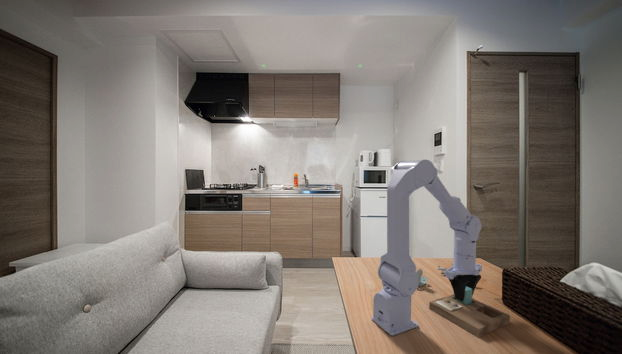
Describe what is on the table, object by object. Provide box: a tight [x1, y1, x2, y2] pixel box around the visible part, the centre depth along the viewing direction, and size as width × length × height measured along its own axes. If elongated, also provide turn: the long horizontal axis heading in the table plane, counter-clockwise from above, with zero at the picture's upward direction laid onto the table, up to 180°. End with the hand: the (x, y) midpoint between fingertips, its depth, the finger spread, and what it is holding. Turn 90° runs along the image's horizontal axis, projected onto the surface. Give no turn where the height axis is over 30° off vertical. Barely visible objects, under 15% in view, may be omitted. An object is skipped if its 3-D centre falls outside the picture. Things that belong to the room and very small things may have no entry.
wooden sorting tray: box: [428, 293, 511, 338], centre depth 70 cm, size 14×14×2 cm
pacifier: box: [416, 268, 428, 288], centre depth 90 cm, size 7×6×6 cm
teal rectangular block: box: [456, 286, 473, 305], centre depth 74 cm, size 3×3×6 cm
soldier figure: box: [437, 263, 453, 275], centre depth 95 cm, size 8×5×12 cm
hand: (463, 298), depth 74 cm, fingers open, 4 cm apart
